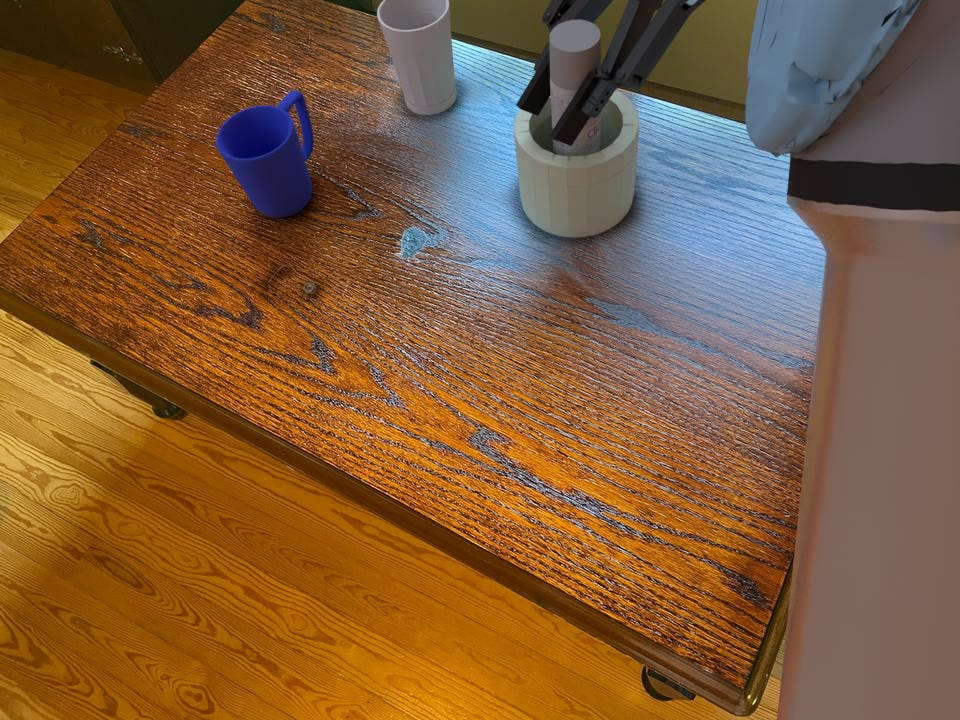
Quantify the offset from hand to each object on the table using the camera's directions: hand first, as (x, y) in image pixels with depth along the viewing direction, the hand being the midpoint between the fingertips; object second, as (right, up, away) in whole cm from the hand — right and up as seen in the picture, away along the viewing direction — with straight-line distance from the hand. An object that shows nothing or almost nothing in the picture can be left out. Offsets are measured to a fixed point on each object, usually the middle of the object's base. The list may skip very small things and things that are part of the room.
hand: (543, 125), depth 74 cm
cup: (-12, +10, +22) cm, 27 cm away
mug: (-27, -2, +17) cm, 32 cm away
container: (+4, -2, +7) cm, 8 cm away
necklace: (-26, -14, +9) cm, 30 cm away
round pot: (+4, -4, +11) cm, 13 cm away
